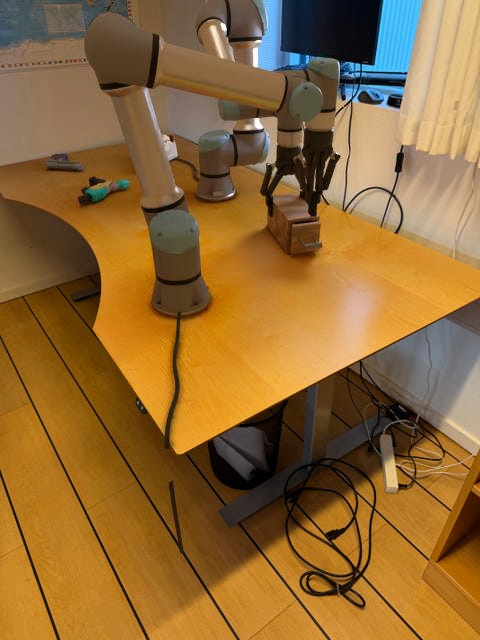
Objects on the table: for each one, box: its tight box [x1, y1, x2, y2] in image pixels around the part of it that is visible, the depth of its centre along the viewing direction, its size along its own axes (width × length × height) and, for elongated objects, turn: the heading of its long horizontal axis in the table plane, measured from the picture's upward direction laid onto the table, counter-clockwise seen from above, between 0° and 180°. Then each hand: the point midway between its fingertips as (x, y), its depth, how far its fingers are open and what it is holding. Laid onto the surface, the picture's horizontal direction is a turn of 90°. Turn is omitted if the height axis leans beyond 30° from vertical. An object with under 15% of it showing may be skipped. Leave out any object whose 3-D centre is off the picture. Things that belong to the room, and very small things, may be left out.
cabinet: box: [266, 191, 321, 254], centre depth 153 cm, size 20×10×11 cm, turn 15°
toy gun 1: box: [44, 152, 84, 171], centre depth 216 cm, size 4×19×15 cm
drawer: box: [289, 220, 323, 255], centre depth 148 cm, size 26×9×9 cm, turn 15°
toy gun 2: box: [77, 175, 130, 205], centre depth 186 cm, size 4×26×15 cm
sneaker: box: [161, 133, 179, 162], centre depth 214 cm, size 10×29×12 cm, turn 163°
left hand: (312, 214), depth 135 cm, fingers closed
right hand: (285, 213), depth 157 cm, fingers closed on cabinet, 10 cm apart
